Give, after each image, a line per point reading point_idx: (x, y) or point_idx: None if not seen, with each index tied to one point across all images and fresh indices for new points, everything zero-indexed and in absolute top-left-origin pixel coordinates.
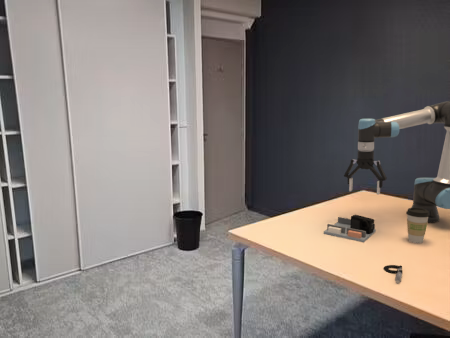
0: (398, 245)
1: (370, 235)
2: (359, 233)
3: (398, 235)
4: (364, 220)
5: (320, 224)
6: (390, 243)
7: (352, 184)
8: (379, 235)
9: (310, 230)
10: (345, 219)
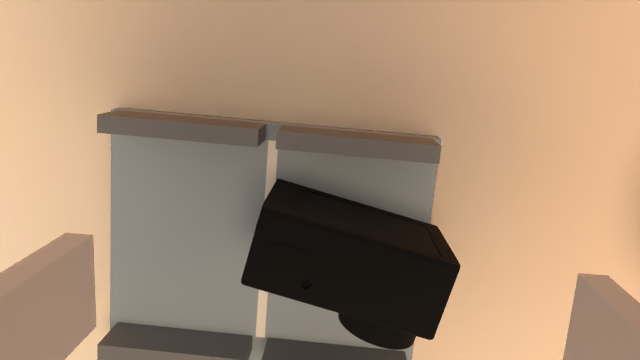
0: None
1: None
2: None
3: (615, 137)
4: (383, 342)
5: (10, 182)
6: None
7: (27, 285)
8: (478, 210)
9: None
10: (173, 138)
